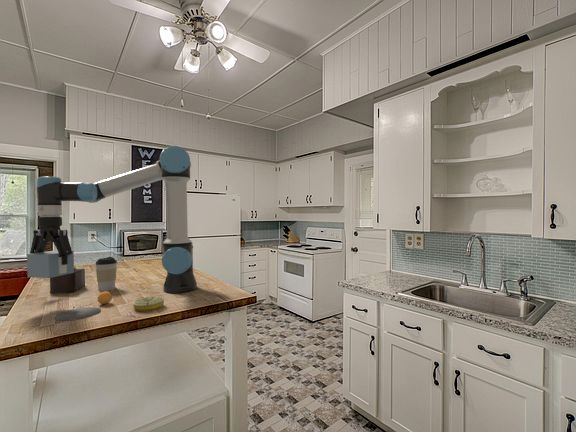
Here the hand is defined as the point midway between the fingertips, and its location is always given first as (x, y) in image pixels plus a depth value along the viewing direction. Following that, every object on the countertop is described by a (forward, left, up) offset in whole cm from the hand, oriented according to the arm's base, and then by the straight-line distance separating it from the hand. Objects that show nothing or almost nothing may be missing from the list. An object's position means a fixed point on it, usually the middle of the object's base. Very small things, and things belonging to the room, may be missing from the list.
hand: (51, 272), depth 118 cm
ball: (-18, -7, -11) cm, 22 cm away
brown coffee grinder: (+17, -20, -14) cm, 30 cm away
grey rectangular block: (0, 0, -1) cm, 1 cm away
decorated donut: (-39, -6, -14) cm, 42 cm away
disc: (-18, +5, -13) cm, 23 cm away
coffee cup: (+1, -28, -14) cm, 31 cm away
